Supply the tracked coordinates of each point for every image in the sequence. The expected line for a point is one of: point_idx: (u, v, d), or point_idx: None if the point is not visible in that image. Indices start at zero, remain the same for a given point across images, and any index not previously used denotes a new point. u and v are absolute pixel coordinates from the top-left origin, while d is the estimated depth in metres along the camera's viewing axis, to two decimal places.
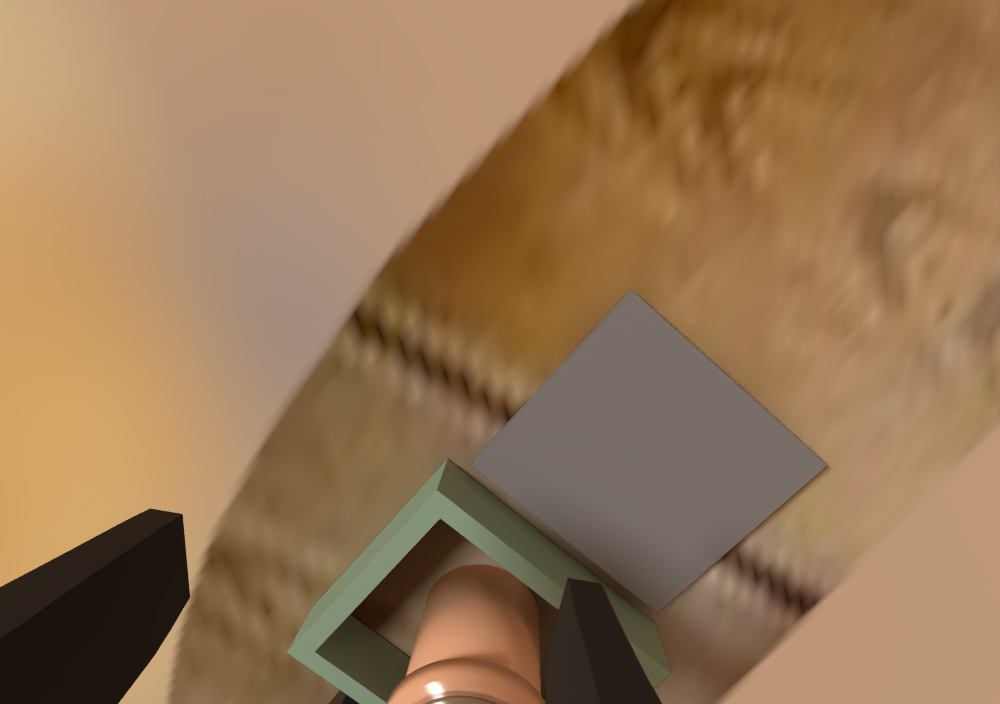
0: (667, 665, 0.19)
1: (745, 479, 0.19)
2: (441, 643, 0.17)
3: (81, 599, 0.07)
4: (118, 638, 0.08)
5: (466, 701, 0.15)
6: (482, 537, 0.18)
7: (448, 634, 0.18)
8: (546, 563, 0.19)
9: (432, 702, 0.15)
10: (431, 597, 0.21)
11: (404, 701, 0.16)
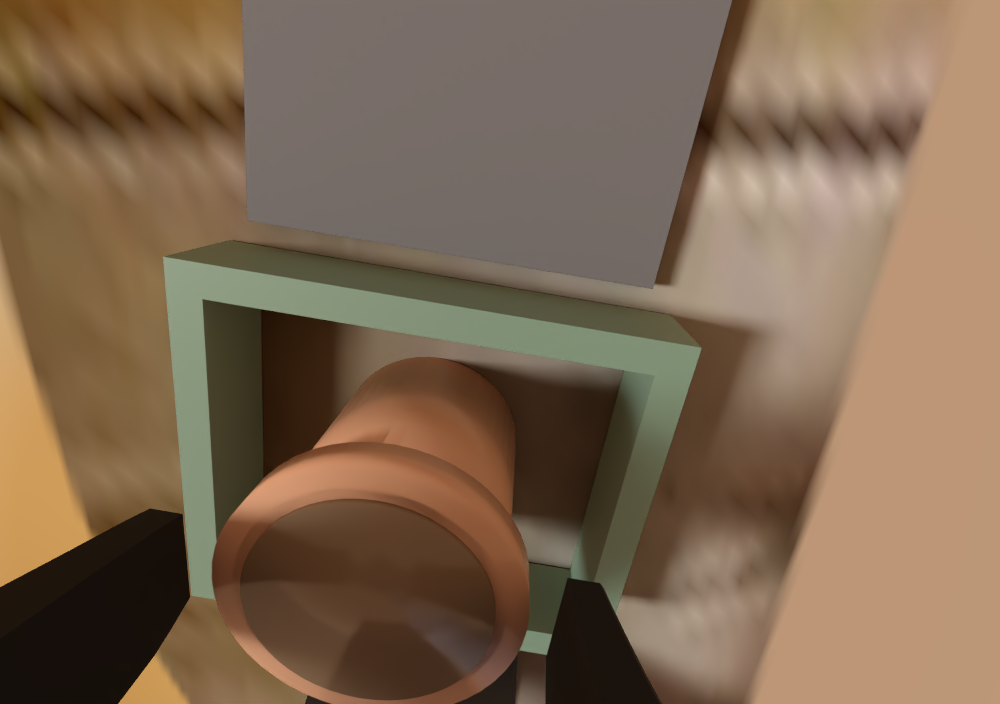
0: (692, 342, 0.11)
1: None
2: None
3: (81, 599, 0.07)
4: (118, 638, 0.08)
5: (290, 518, 0.08)
6: (276, 292, 0.11)
7: None
8: (415, 290, 0.11)
9: (252, 547, 0.09)
10: None
11: (222, 568, 0.09)
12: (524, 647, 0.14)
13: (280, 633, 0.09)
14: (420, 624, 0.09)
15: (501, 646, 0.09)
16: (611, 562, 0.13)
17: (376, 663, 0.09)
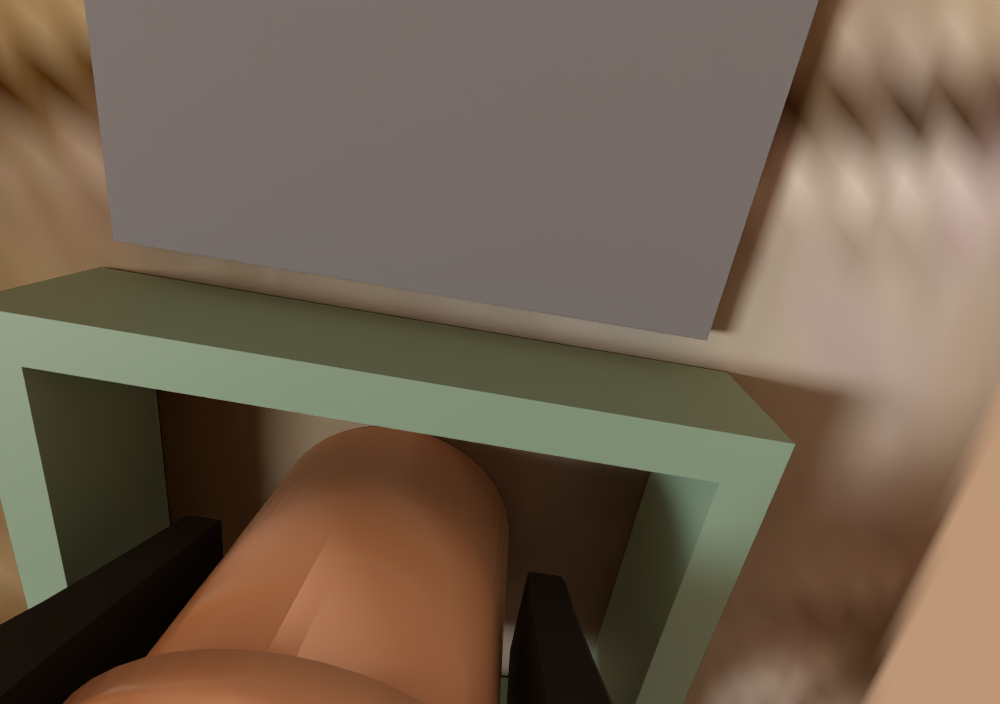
0: (777, 431, 0.07)
1: None
2: None
3: (130, 607, 0.07)
4: None
5: None
6: (132, 357, 0.07)
7: (181, 611, 0.07)
8: (353, 348, 0.07)
9: None
10: None
11: None
12: None
13: None
14: None
15: None
16: None
17: None
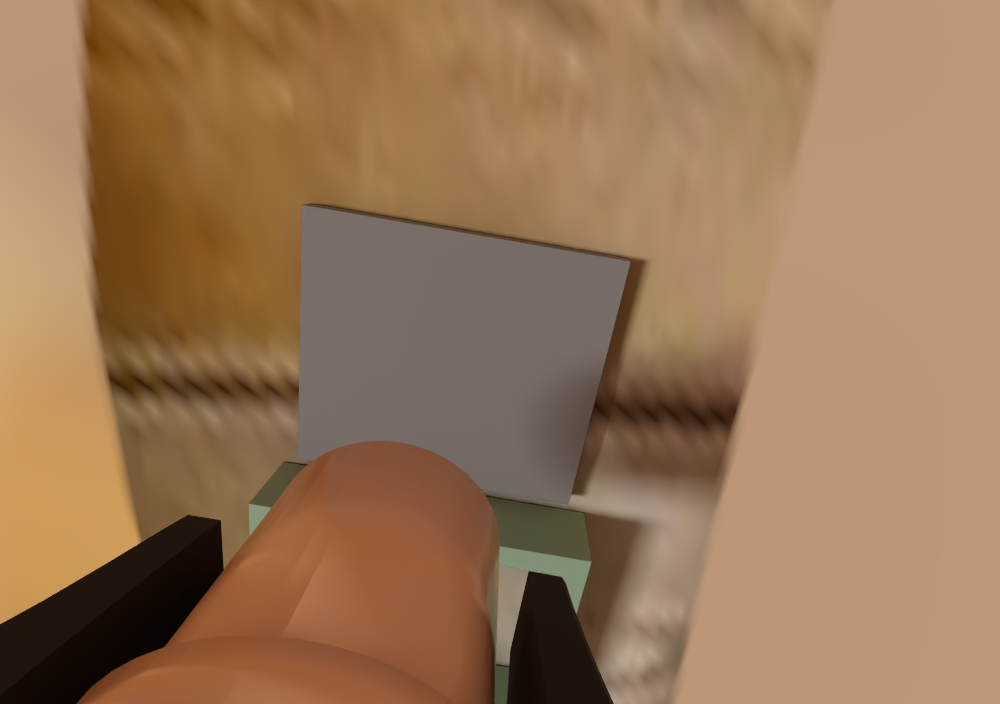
0: (587, 554, 0.17)
1: (555, 327, 0.16)
2: None
3: (130, 607, 0.07)
4: (162, 645, 0.08)
5: None
6: None
7: (188, 616, 0.07)
8: None
9: None
10: None
11: None
12: None
13: None
14: None
15: None
16: None
17: None
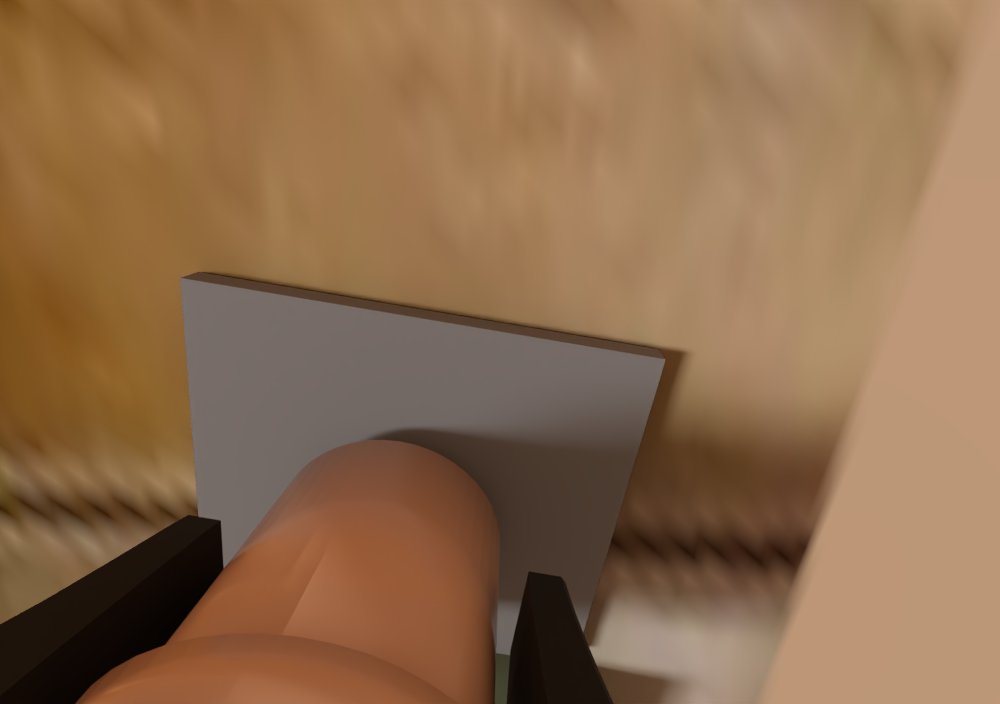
0: None
1: (555, 446, 0.11)
2: None
3: (130, 607, 0.07)
4: (162, 645, 0.08)
5: None
6: None
7: (189, 614, 0.07)
8: None
9: None
10: None
11: None
12: None
13: None
14: None
15: None
16: None
17: None
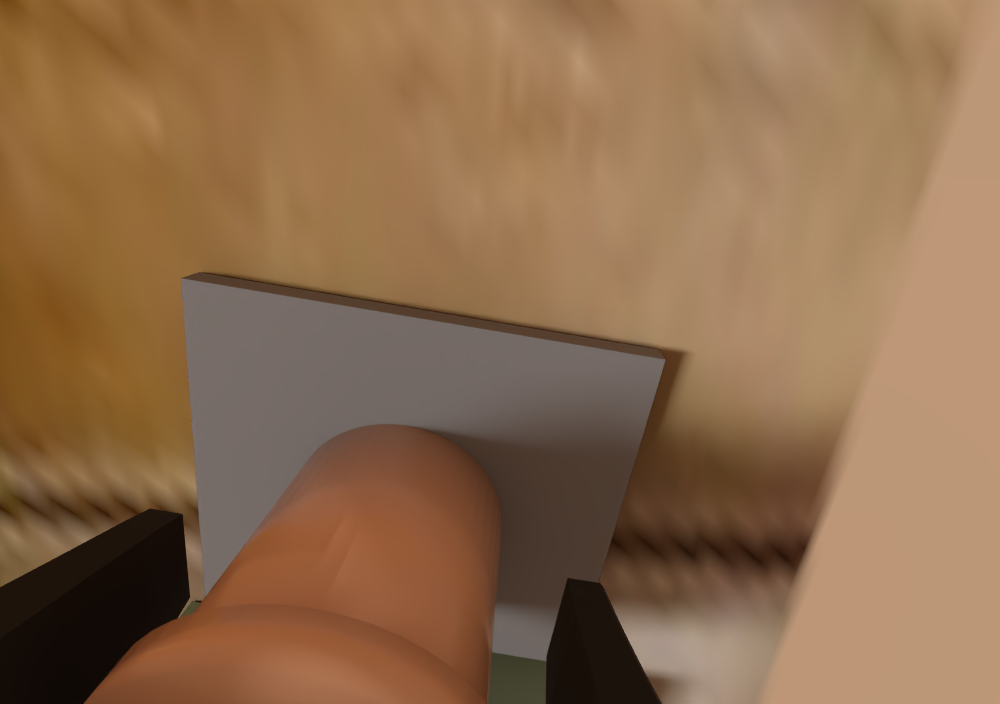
0: None
1: (555, 446, 0.11)
2: None
3: (81, 599, 0.07)
4: (118, 638, 0.08)
5: None
6: None
7: (216, 583, 0.08)
8: None
9: None
10: None
11: None
12: None
13: None
14: None
15: None
16: None
17: None
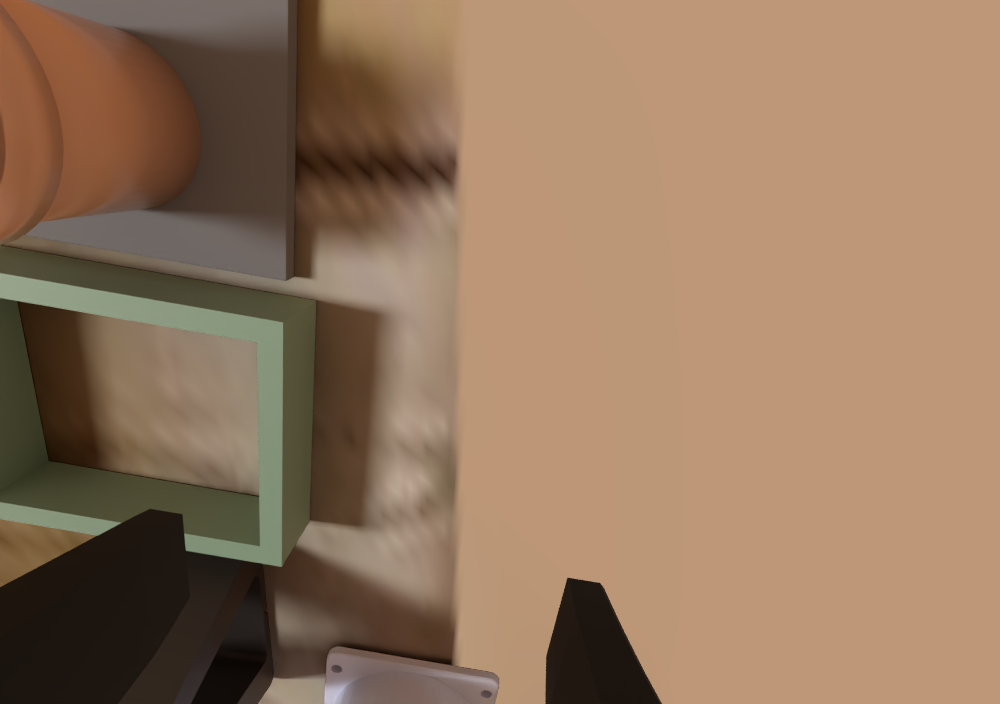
0: (284, 318, 0.15)
1: (223, 42, 0.14)
2: None
3: (81, 599, 0.07)
4: (118, 638, 0.08)
5: None
6: None
7: None
8: (93, 280, 0.15)
9: None
10: None
11: None
12: (223, 554, 0.18)
13: None
14: None
15: (8, 149, 0.09)
16: (267, 484, 0.17)
17: None
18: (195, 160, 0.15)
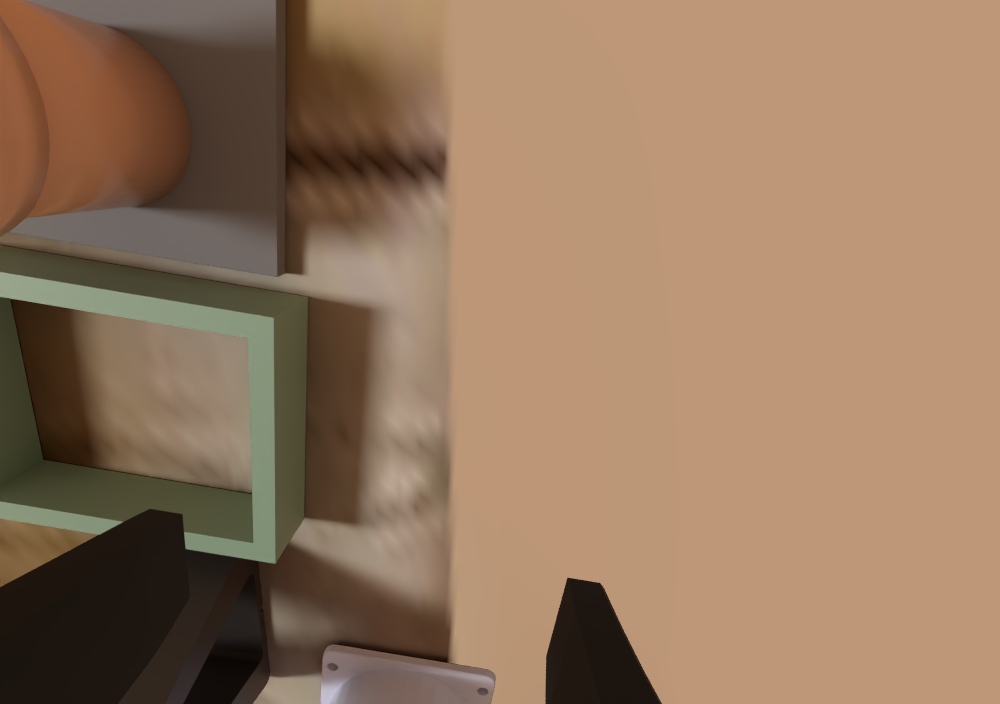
0: (275, 314, 0.15)
1: (212, 39, 0.14)
2: None
3: (81, 599, 0.07)
4: (118, 638, 0.08)
5: None
6: None
7: None
8: (84, 277, 0.16)
9: None
10: None
11: None
12: (217, 551, 0.18)
13: None
14: None
15: None
16: (260, 481, 0.17)
17: None
18: (185, 157, 0.15)
